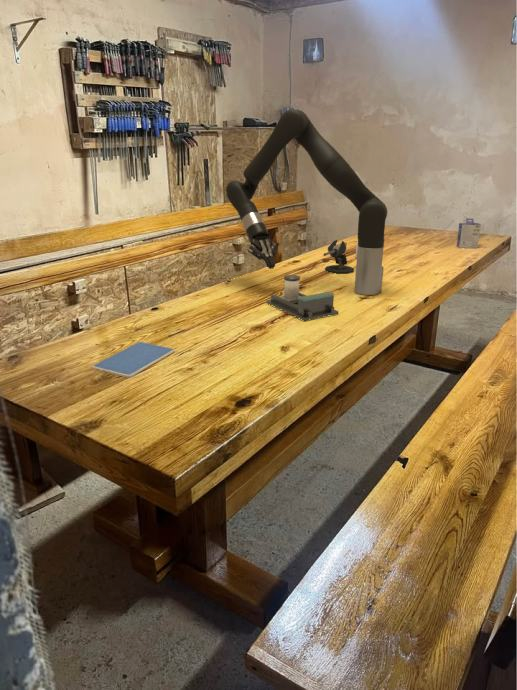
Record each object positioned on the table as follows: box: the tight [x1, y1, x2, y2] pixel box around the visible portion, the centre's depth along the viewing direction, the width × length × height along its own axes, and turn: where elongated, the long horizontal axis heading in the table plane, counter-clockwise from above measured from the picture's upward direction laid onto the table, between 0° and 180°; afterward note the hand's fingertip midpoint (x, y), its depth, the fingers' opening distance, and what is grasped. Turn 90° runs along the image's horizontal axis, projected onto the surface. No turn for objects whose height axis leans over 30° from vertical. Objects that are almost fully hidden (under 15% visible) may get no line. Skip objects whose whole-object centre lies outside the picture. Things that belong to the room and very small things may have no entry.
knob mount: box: [266, 291, 340, 321], centre depth 181 cm, size 14×22×7 cm, turn 32°
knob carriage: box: [279, 274, 301, 303], centre depth 185 cm, size 7×6×8 cm
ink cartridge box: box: [456, 218, 482, 249], centre depth 279 cm, size 10×6×14 cm, turn 89°
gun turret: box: [322, 239, 355, 275], centre depth 228 cm, size 13×20×13 cm, turn 146°
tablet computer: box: [91, 341, 176, 379], centre depth 141 cm, size 19×13×1 cm, turn 153°
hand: (272, 267), depth 193 cm, fingers closed
